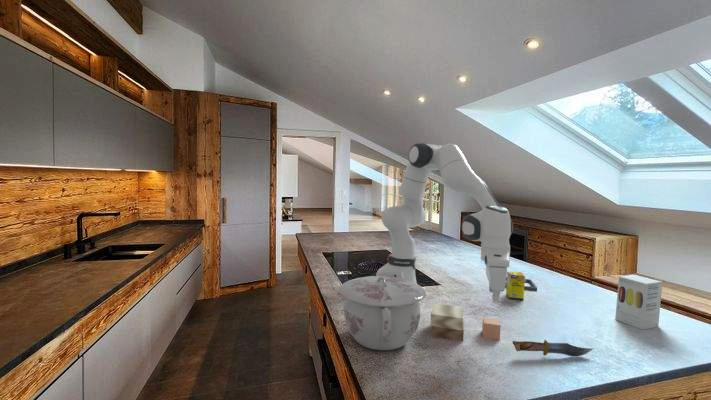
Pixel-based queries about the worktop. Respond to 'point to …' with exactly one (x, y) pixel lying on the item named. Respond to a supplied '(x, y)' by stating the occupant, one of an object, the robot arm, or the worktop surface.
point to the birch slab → (447, 316)
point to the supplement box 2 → (638, 301)
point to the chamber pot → (382, 310)
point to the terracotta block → (491, 328)
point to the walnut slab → (448, 333)
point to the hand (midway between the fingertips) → (493, 296)
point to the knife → (551, 348)
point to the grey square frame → (528, 286)
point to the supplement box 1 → (515, 285)
